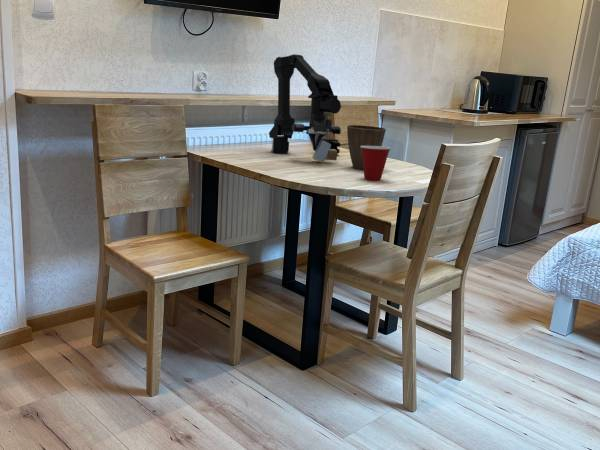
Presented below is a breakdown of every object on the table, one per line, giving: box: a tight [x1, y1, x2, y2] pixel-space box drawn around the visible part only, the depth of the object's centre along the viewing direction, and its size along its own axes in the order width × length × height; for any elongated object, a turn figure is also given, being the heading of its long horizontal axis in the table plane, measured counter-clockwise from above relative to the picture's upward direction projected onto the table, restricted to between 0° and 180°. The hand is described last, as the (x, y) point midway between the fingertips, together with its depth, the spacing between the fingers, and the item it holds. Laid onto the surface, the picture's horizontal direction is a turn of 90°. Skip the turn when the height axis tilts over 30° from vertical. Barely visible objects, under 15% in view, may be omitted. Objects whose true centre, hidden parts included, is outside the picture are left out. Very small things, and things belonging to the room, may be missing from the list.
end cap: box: [321, 138, 341, 157], centre depth 259 cm, size 10×7×7 cm
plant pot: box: [346, 124, 387, 171], centre depth 230 cm, size 15×15×16 cm
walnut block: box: [324, 149, 338, 161], centre depth 248 cm, size 4×4×8 cm
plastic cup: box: [360, 145, 392, 182], centre depth 209 cm, size 11×11×12 cm
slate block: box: [312, 140, 331, 164], centre depth 237 cm, size 4×4×8 cm
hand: (314, 150), depth 237 cm, fingers closed
